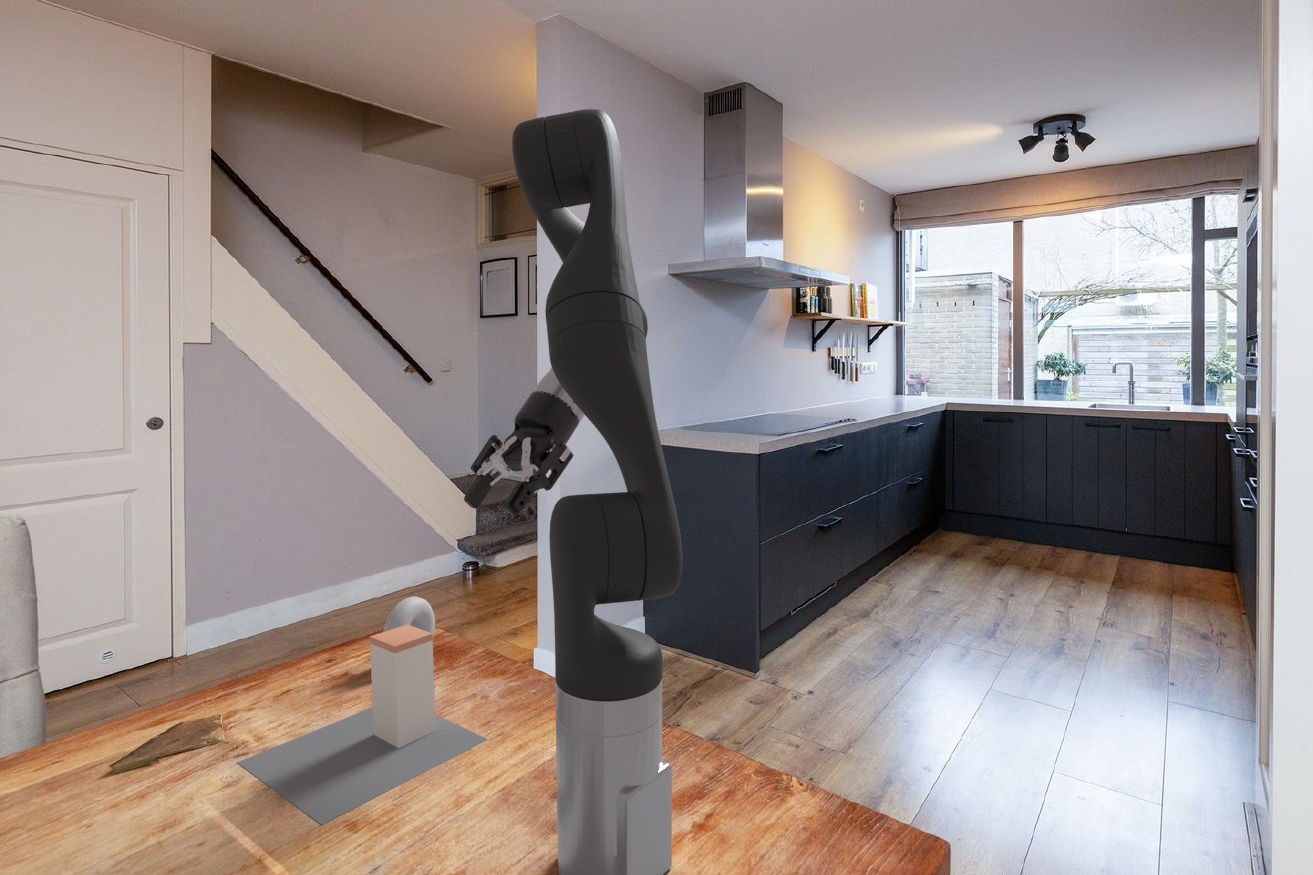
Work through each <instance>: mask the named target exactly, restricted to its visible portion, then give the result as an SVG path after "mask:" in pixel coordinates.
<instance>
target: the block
mask: <svg viewBox="0 0 1313 875" xmlns="http://www.w3.org/2000/svg"><path fill="white" fill-rule="evenodd" d="M433 639H434V635H433V634H432V633H429V632H427V631H424V630H421V629H419V628H416V627H413V626H412V625H408V624H407V625H404V626H401V627H398V628H395V629H392V630H389V631H386V632H383V631H382V632H380V633H377V634H374V635H370V636H369V646H370V647H369V649H370V673H371V694H372V695H371V696H372V700H371V701H372V707H373V725H374V735H375V736H377V737H379V738H381V739H383V740H384V741H386V742H388V743H390V744H392V745H393V746H395V747H397V748H400V747H402V746H404V745H406V744H409V743H411V742H413V741H415V740H417V739H419V738H421V737H423V736H426V735H428V734H430V733H432V732H434V731H436V728H435V714H436V706H435V705H436V703H435V701H436V700H435V698H436V697H435V675H434V673H435V672H434V670H435V669H434V668H435V667H434V643H433V642H434V641H433Z"/></svg>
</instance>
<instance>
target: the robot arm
mask: <svg viewBox="0 0 1313 875" xmlns="http://www.w3.org/2000/svg"><path fill="white" fill-rule="evenodd" d="M617 133H618V132H617V131H616V128H615V124H614V123H613V121H612V119H611V118H610V116H609V115H608V114H607V112H605V111H604V110H600V109H598V108H597V109H594V108H590V109H589V108H588V109H579V110H574V111H569V112H563V113H558V114H551V115H547V116H541V117H536V118H532V119H529V120H525V121H522V122H519V123H518V124H517V125H516V126H515V128H514V130H513V132H512V138H511V145H512V146H511V148H512V149H511V150H512V158H513V165H514V169H515V173H516V176H517V181H518V183H519V185H520V189H521V191H522V194H523V196H524V197H525V200H526V202H527V203H528V206H529V208H530V209H531V212H532V213H533V215H534V217H535V218H536V220H537V222H538V223H539V226H540V227H541V228H542V230H543V232H544V234H545V236H546V237H547V239H548V240H549V242H550V244H551V246H553V248H554V250H555V251H556V253H557V255H558V257H559V258H560V260H561V262H562V264H561V266H560V268H559V269H558V271H557V273H556V276H555V277H554V279H553V280H552V283H551V286H550V288H549V291H548V293H547V296H546V300H545V301H546V302H545V309H544V310H545V323H546V333H547V343H548V354H549V363H550V366H551V367H550V369H549V370H548V371H547V373H546V374H545V375H544V376H543V377H542V378H541V379H540V380H539V382H538V383H537V385H536V386H535V387H534V389H533V390H532V392H531V393H530V395H529V396H528V398H527V399H526V400H525V402H524V403H523V405H522V406H521V408H519V410H518V412H517V413H516V415H515V417H514V430H513V431H512V433H510V435H508V436H507V437H506V438H505V439H503V438H502V439H501V438H500V437H498V435H497V434H493V435H491V436H490V437H488V440H487V442H486V443H485V445H484V446H483V447H482V449H481V450H480V452H479V453H478V455H477V457H476V458H475V460H474V461H473V463H472V464H471V466H470V470H471V471H472V472H473V473H474V474H475V475H476V478H475V480H474V481H473V483H472V484H471V485H470V487H469V488H468V490H467V491H466V493H465V495H464V498H463V499H464V502H465V503H466V504H467V505H468V506H469V507H470V508H472V509H476V510H477V509H478V508H479V507H480V506H481V504H482V503H483V501H484V500H485V498H486V497H487V495H488V494H489V493H490V490H491V489H492V488H493V485H495V484H496V483H497V482H498V481H500V480H501V479H502V478H509V477H510V476H511V475H512V474H514V473H515V472H522V474H521V481H518V482H517V484H516V485H515V487H513V490H512V491H511V492H510V494H509V496H508V497H507V498H506V500H505V502H504V504H503V508H504V509H505V511H506V512H507V513H508V514H509V516H513V517H518V516H519V515H520V513H521V512H522V511H523V510H524V509H525V507H526V506H527V504H528V502H529V501H530V500H531V498H532V497H533V495H534V494H536V493H538V492H539V491H540V490H542V489H544V490H545V492H546V491H550V490H552V489H553V487H554V485H555V484H556V482H557V481H558V480H559V478H560V477H561V475H562V474H563V472H564V471H565V469H566V468H567V467H568V465H569V464H570V462H571V461H572V459H573V457H574V453H573V452H572V451H571V448H569V446H568V445H567V444H568V442H569V441H570V438H571V437H572V435H573V434H574V432H575V431H576V430H577V428H578V426H579V425H580V423H581V421H582V420H583V418H584V416H585V417H586V418H587V419H588V420H589V421H590V422H591V424H592V425H593V426H594V427H595V429H596V430H597V431H598V433H600V435H601V437H603V439H604V441H605V442H606V443H607V445H608V447H609V449H610V450H611V451H612V453H613V456H614V458H615V459H616V463H617V464H618V466H619V470H620V472H621V475H622V478H623V481H624V485H625V487H626V488H625V489H626V491H624V492H623V491H622V492H621V491H620V492H600V493H584V494H572V495H565V496H562V497H560V498H559V499H558V500H557V501H556V503H555V505H554V506H553V509H552V511H551V516H550V521H549V539H548V540H549V556H550V557H549V558H550V572H551V584H552V585H551V586H552V597H553V599H552V600H553V614H554V615H553V618H554V620H553V621H554V659H555V660H554V662H555V665H554V669H555V672H554V674H555V675H554V676H555V677H554V681H555V684H554V685H555V752H556V753H555V755H556V756H555V761H556V767H555V768H556V815H557V816H556V818H557V819H556V825H557V827H556V828H557V870H558V875H664V874H665V873H667V872H668V870H669V869H671V868H672V866H673V865H672V864H673V863H672V861H673V860H672V857H673V856H672V855H673V852H672V851H673V849H672V847H673V846H672V845H673V844H672V843H673V842H672V840H673V827H672V826H673V818H672V816H673V812H672V811H673V810H672V809H673V769H672V768H673V767H672V765H671V764H670V763H669V762H668V763H667V762H665V761H663V676H664V675H663V673H664V672H663V665H664V664H663V660H664V659H663V653H662V648H661V646H660V644H659V643H658V642H657V641H656V640H655V639H654V638H653V637H651V636H650V635H649V634H647V633H644V632H642V631H639V630H637V629H633V628H630V627H627V626H622V625H619V624H614V623H612V622H609V621H607V620H604V619H602V618H601V617H599V616H598V615H596V614H595V607H596V606H597V605H607V604H616V603H619V604H620V603H627V602H636V601H638V602H639V601H648V600H656V599H663V598H667V597H669V596H672V595H673V594H674V593H675V592H676V590H677V589H678V587H679V585H680V583H681V579H682V575H683V574H682V573H683V557H684V556H683V544H682V537H681V536H682V535H681V529H680V522H679V517H678V513H677V510H676V509H677V508H676V504H675V503H676V502H675V499H674V495H673V490H672V486H671V481H670V477H669V473H668V468H667V464H666V460H665V456H664V452H663V447H662V443H661V438H660V434H659V430H658V428H659V427H658V424H657V418H656V412H655V406H654V400H653V399H654V397H653V393H652V392H653V391H652V384H651V377H650V376H651V375H650V368H649V360H648V353H647V352H648V350H647V340H646V339H647V336H648V330H649V329H648V328H649V324H648V323H649V322H648V317H647V314H646V311H645V309H644V307H643V306H642V303H641V301H640V296H639V291H638V290H639V289H638V285H637V280H636V275H635V271H634V270H635V269H634V263H633V260H632V253H631V248H630V247H631V246H630V240H629V232H628V221H627V220H628V218H627V208H626V206H627V205H626V196H625V182H624V170H623V160H622V159H623V158H622V154H621V148H620V142H619V137H618V134H617ZM588 204H589V208H588V214H587V216H586V221H585V222H584V221H582V220H581V218H579V217H578V216H576V214H574V213H573V212H572V211H571V210H570V209H569V208H571V207H577V206H582V205H588ZM502 459H503V462H504V464H506V466H504V465H503V464H502V463H501V462H500V461H501V460H502ZM484 463H485V464H484ZM483 464H484V465H483ZM494 469H497V471H495V472H494V473H493V474H492V472H493V471H494ZM549 471H550V474H549V475H548V476H547V474H548V473H549Z"/></svg>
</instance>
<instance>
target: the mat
mask: <svg viewBox="0 0 1313 875" xmlns="http://www.w3.org/2000/svg"><path fill="white" fill-rule="evenodd" d="M435 728H436V731H434V732H432V733H430V734H428V735H426V736H423V737H421V738H419V739H417V740H415V741H413V742H411V743H409V744H406V745H404V746H402V747H400V748H397V747H395V746H393V745H392V744H390V743H388V742H386V741H384V740H383V739H381V738H379V737H377V736H375V735H374V725H373V706H371V707H369V708H367V709H364V710H362V711H359V712H356V713H355V714H352V715H350V716H347V717H346V718H345V717H344V718H341V719H340V720H337V721H335V722H333V723H331V724H327V725H325V726H323V727H320V728H317V729H315V730H313V731H311V732H308V733H305V734H303V735H301V736H299V737H298V736H297V737H296V738H293V739H291V740H288V741H286V742H284V743H281V744H279V745H276V746H274V747H272V748H268V749H266V750H265V751H262V752H259V753H256V754H253V755H252V756H250V757H247V758H245V759H242V760H239V761H237V762H236V763H237V764H238V765H239V766H240V767H242V768H244V769H245V770H246V771H247V772H249V773H250V774H251V775H253V776H254V777H255V778H257V779H258V780H260V782H262V783H264V784H265V785H266V786H267V787H269V788H270V789H271V790H272V791H274V792H276V793H277V794H278V795H280V797H282V798H284V799H285V800H286V801H288V802H289V803H291V804H292V805H294V807H296V808H298V809H299V810H300V811H301V812H302V813H304V814H305V815H306V816H308V817H310V818H311V819H312V820H314V821H315V822H316V823H318V824H319V826H323V825H325V824H327V823H329V822H331V821H334V820H335V819H337V818H339V817H341V816H343V815H345V814H347V813H349V812H351V811H352V810H355V809H356V808H359V807H360V806H362V805H365V804H366V803H368V802H370V801H372V800H374V799H376V798H378V797H379V796H381V795H383V794H385V793H388V792H389V791H392V790H393V789H395V788H397V787H400V786H401V785H403V784H404V783H406V782H408V781H411V780H413V779H414V778H416V777H418V776H421V775H422V774H424V773H427V772H428V771H430V770H432V769H434V768H436V767H437V766H439V765H442V764H444V763H446V762H447V761H449V760H451V759H453V758H455V757H457V756H459V755H461V754H463V753H465V752H467V751H468V750H471V749H472V748H474V747H476V746H478V745H480V744H482V743H484V742H486V741H488V739H489V738H487V737H484V736H482V735H480V734H478V733H475V732H474V731H472V730H469V729H467V728H466V727H463V726H462V725H461V726H460V725H458V724H456V723H455V722H452V721H450V720H448V719H446V718H444V717H442V716H440V715H438V714H436V713H435Z"/></svg>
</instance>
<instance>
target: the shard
mask: <svg viewBox="0 0 1313 875" xmlns="http://www.w3.org/2000/svg"><path fill="white" fill-rule="evenodd" d="M222 721H223V715H222V713H216V714H212V715H208V716H204V717H199V718H195V719H192V720H186V721H180V722H178V723H176V724H174V725H172V726H170V727H169V728H167V729H166V730H165V731H163V732H160V733H159V734H157V735H156V736H154V737H152V738H149V739H148V740H146V742H143V744H141V745H140V746H138V747H136V748H135V749H134V750H132V751H131V752H129V753H128V754H126V755H125V756H123V757H121V758H120V759H118V760H116V761H115V762H114V763H112V764H109V765H108V768H109V769H113V770H114V774H118V773H122V772H124V771H128V770H132V769H136V768H140V767H143V766H145V765H149V764H153V763H156V762H160V760H159V759H158V758H162V757H166V756H170V755H174V754H177V753H183V752H186V751H192V750H195V749H199V748H204V747H207V746H210V745H215V744H218V743H222V742H225V740H226V738H225V735H224V726H223V722H222Z"/></svg>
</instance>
